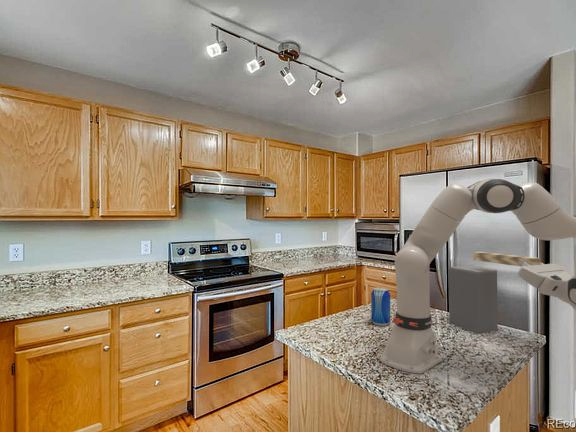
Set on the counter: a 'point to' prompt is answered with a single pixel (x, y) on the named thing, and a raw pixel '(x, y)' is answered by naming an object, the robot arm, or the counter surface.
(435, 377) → the counter surface
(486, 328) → the charcoal stand
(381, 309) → the beer can
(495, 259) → the maple bar
